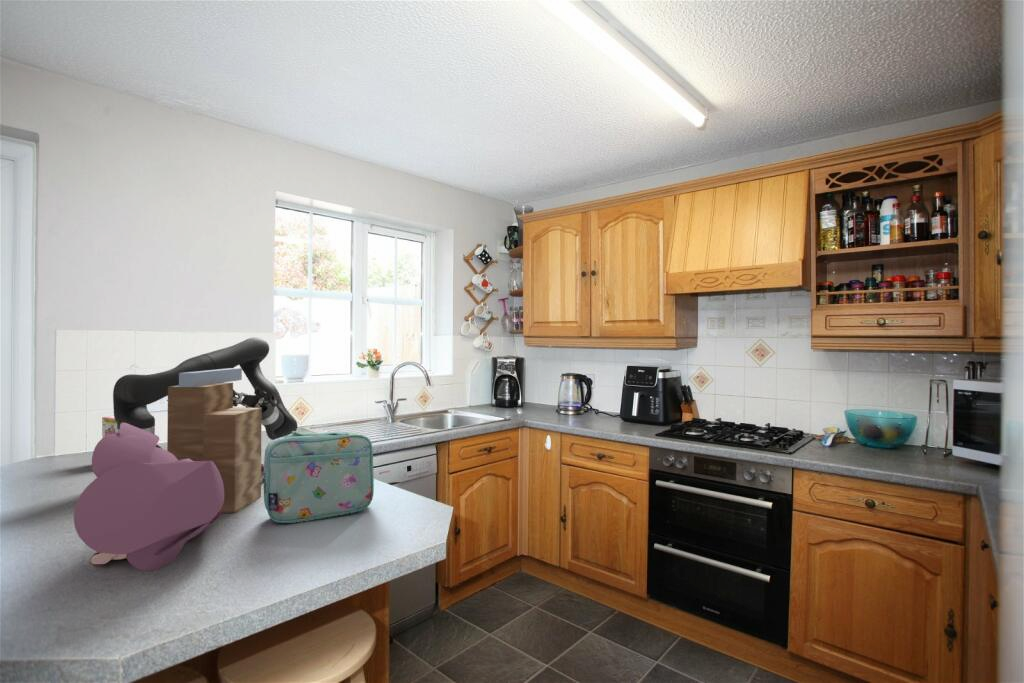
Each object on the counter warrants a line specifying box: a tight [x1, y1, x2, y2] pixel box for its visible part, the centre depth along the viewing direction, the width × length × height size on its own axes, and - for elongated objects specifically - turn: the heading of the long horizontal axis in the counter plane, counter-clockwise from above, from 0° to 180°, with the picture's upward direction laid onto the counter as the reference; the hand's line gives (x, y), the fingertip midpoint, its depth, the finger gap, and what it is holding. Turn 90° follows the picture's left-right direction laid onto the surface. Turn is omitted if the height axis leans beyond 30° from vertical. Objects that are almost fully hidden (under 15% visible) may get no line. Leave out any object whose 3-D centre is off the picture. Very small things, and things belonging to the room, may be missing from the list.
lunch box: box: [259, 431, 375, 524], centre depth 128 cm, size 27×10×21 cm, turn 117°
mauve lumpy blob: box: [73, 423, 224, 571], centre depth 106 cm, size 36×24×29 cm
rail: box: [179, 367, 243, 387], centre depth 140 cm, size 24×4×4 cm, turn 1°
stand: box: [166, 382, 262, 514], centre depth 136 cm, size 14×17×32 cm
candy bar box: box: [101, 415, 117, 439], centre depth 179 cm, size 11×5×16 cm, turn 65°
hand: (242, 389), depth 156 cm, fingers open, 8 cm apart
